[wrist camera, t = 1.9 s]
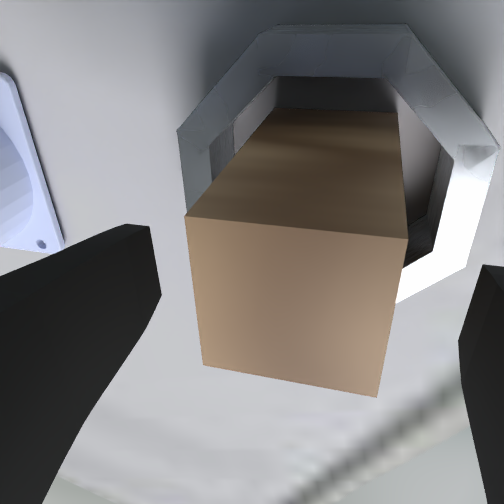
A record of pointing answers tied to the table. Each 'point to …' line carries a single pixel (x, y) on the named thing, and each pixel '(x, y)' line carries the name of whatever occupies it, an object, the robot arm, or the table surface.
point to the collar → (363, 66)
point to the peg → (303, 250)
